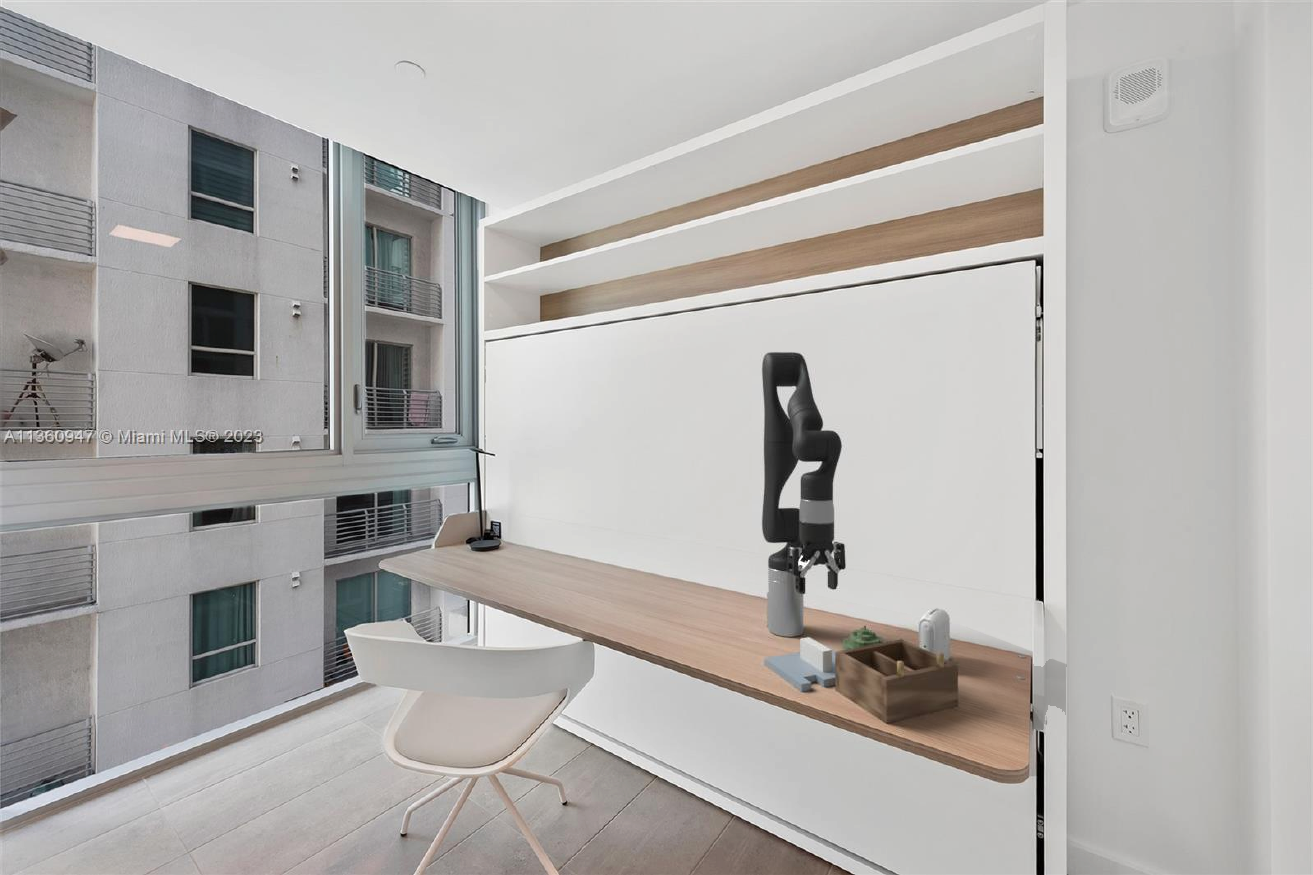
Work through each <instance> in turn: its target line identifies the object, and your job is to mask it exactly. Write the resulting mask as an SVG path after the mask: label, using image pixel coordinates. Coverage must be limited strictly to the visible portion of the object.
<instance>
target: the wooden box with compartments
mask: <svg viewBox="0 0 1313 875" xmlns="http://www.w3.org/2000/svg"><path fill="white" fill-rule="evenodd" d="M883 642H884V641H883ZM835 651H836V652H835V688H834V689H835V691H836V692H838V693H839V694H841V695H842V696H844V697H845V698H846V699H848V700H850V701H851V702H853V703H855V704H856V705H857V706H859V707H861V708H862V709H863V710H865V712H866V711H867V712H868V713H870V714H871V715H872V716H874V717H875V718H877V719H879V720H880V721H882V722H883V723H885V724H886V725H887V724H891V723H895V722H899V721H903V720H907V719H911V718H915V717H919V716H923V715H926V714H930V713H933V712H934V713H935V712H938V711H941V710H947V709H950V708H953V707H956V706H959V664H957V663H955V662H953V661H951V660H950V659H949V660H946V659H944V654H942V653H937V655H935V654H933V653H931V652H929V651H926V650H924V649H922V648H920V647H919V645H918V646H917V645H915V644H913V643H911V642H909V641H906V640H905V639H902V638H901V639H896V640H890V641H885V642H884V643H879V644H874V645H868V646H863V647H858V648H852V649H847V650H843V649H842V650H835Z"/></svg>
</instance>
